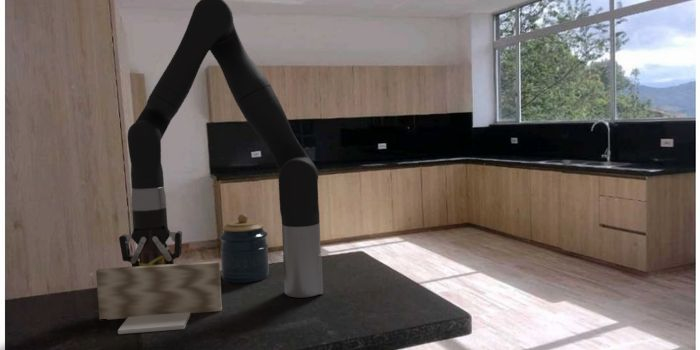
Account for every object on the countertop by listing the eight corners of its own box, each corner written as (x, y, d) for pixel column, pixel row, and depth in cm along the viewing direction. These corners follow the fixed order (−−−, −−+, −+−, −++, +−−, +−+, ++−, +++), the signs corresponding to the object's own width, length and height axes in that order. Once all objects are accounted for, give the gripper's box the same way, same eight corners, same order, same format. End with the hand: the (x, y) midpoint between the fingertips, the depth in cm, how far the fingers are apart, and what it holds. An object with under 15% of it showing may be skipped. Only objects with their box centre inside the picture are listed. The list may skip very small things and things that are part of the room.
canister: (264, 283, 142) (261, 217, 140) (215, 284, 142) (212, 218, 141) (273, 270, 155) (270, 209, 153) (228, 271, 155) (225, 210, 154)
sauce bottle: (159, 309, 123) (154, 224, 121) (135, 308, 124) (129, 223, 123) (174, 300, 129) (169, 219, 128) (151, 299, 131) (146, 219, 129)
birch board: (221, 308, 122) (219, 261, 122) (221, 310, 121) (218, 262, 120) (102, 317, 119) (98, 268, 118) (99, 320, 117) (96, 270, 116)
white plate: (190, 315, 118) (190, 312, 118) (184, 328, 110) (184, 325, 110) (128, 320, 117) (128, 316, 116) (118, 334, 109) (117, 330, 109)
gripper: (183, 203, 130) (187, 270, 131) (121, 206, 128) (126, 274, 129) (178, 207, 122) (182, 279, 124) (111, 210, 120) (117, 283, 122)
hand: (153, 276), depth 126 cm, fingers open, 6 cm apart
